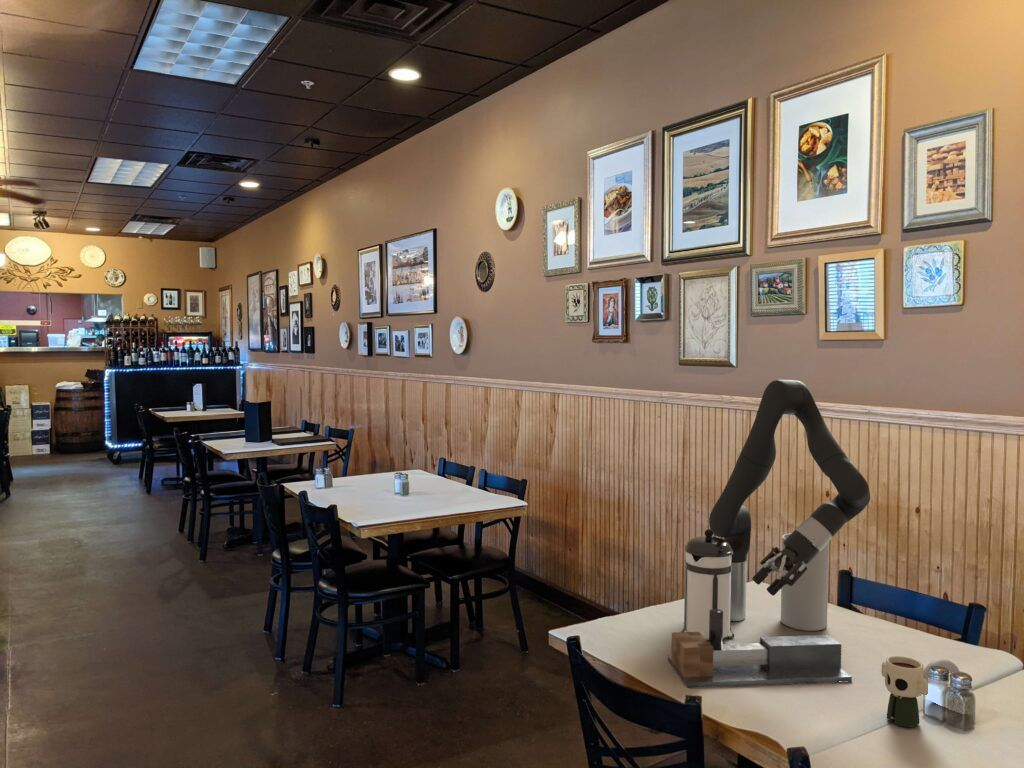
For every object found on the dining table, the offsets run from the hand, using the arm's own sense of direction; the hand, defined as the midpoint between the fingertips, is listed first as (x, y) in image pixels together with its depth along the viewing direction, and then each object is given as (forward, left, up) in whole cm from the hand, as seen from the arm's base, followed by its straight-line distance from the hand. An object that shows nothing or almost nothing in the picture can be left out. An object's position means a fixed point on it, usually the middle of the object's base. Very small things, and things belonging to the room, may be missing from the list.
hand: (762, 587), depth 187 cm
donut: (+20, +33, -21) cm, 44 cm away
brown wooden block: (0, -17, -19) cm, 26 cm away
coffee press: (-23, -5, -21) cm, 31 cm away
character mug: (+28, +19, -21) cm, 40 cm away
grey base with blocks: (0, -1, -21) cm, 21 cm away
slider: (0, -5, -18) cm, 19 cm away
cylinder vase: (-30, +26, -21) cm, 45 cm away
